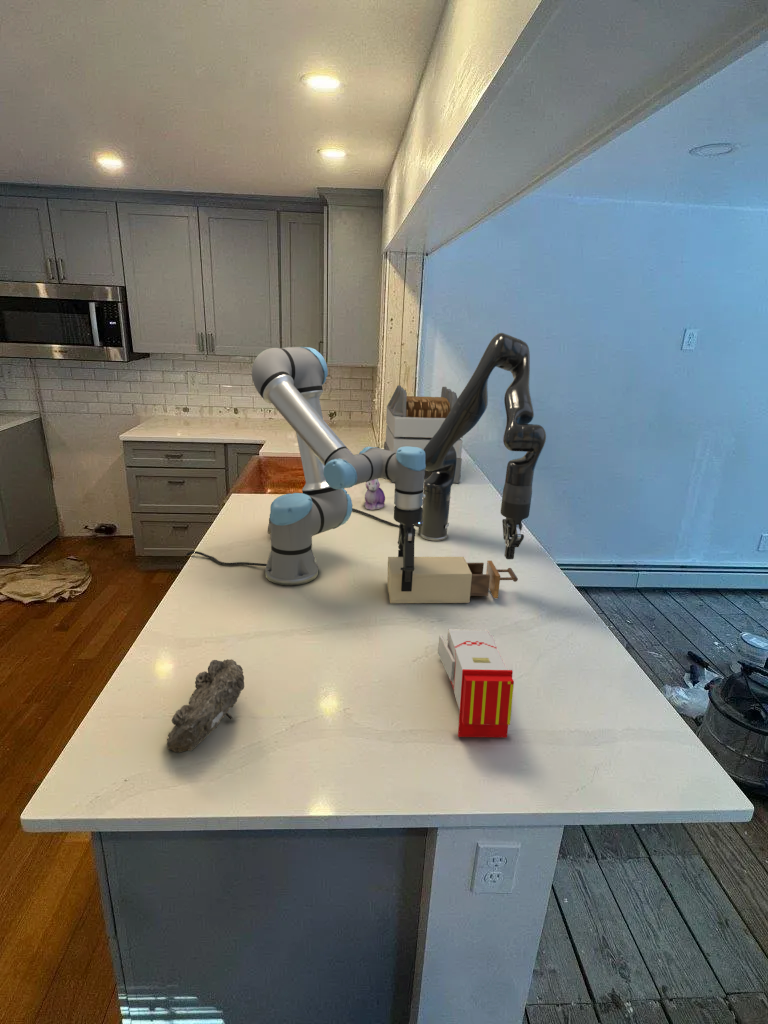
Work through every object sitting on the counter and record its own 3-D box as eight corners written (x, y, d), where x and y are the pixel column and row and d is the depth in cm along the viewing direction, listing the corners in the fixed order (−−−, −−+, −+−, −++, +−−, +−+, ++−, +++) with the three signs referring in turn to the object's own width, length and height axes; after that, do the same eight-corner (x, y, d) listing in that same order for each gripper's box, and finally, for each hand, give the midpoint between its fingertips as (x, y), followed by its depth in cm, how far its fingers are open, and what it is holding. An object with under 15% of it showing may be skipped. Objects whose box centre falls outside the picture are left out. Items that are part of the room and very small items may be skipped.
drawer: (508, 581, 165) (510, 560, 162) (518, 598, 155) (520, 575, 153) (419, 582, 163) (420, 560, 160) (423, 598, 154) (425, 576, 151)
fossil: (192, 660, 117) (244, 628, 112) (224, 691, 120) (276, 661, 115) (142, 746, 98) (202, 712, 93) (182, 779, 101) (242, 748, 96)
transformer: (382, 463, 289) (386, 382, 275) (445, 464, 293) (451, 384, 279) (390, 482, 257) (394, 392, 243) (460, 483, 261) (468, 394, 247)
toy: (488, 613, 130) (523, 677, 101) (484, 667, 133) (517, 744, 104) (435, 612, 130) (455, 676, 101) (432, 666, 133) (451, 743, 103)
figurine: (369, 511, 219) (370, 474, 214) (358, 503, 228) (359, 467, 223) (390, 509, 224) (392, 472, 219) (378, 501, 232) (380, 465, 227)
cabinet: (461, 584, 165) (463, 556, 162) (469, 602, 154) (472, 573, 151) (387, 584, 163) (388, 556, 160) (390, 603, 153) (391, 574, 150)
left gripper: (428, 522, 139) (423, 601, 146) (417, 492, 161) (412, 562, 168) (398, 521, 138) (394, 601, 145) (390, 492, 160) (387, 562, 168)
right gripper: (538, 507, 145) (529, 568, 151) (523, 491, 157) (515, 548, 163) (509, 506, 144) (501, 568, 150) (496, 490, 156) (489, 548, 162)
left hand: (404, 580), depth 157 cm, fingers closed on cabinet, 11 cm apart
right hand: (508, 558), depth 156 cm, fingers closed
